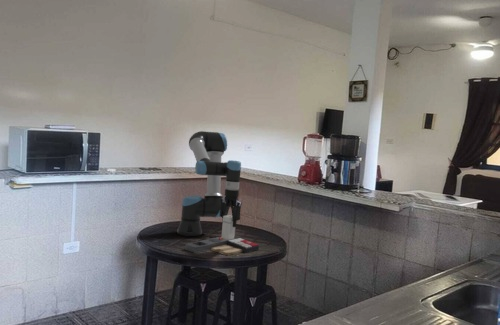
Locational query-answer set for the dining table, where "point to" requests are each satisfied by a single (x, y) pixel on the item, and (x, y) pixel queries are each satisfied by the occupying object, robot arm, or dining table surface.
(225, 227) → the block
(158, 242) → the dining table surface
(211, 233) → the dining table surface
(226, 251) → the wooden board
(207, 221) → the dining table surface
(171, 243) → the dining table surface
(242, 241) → the calculator
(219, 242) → the grey handheld radio
